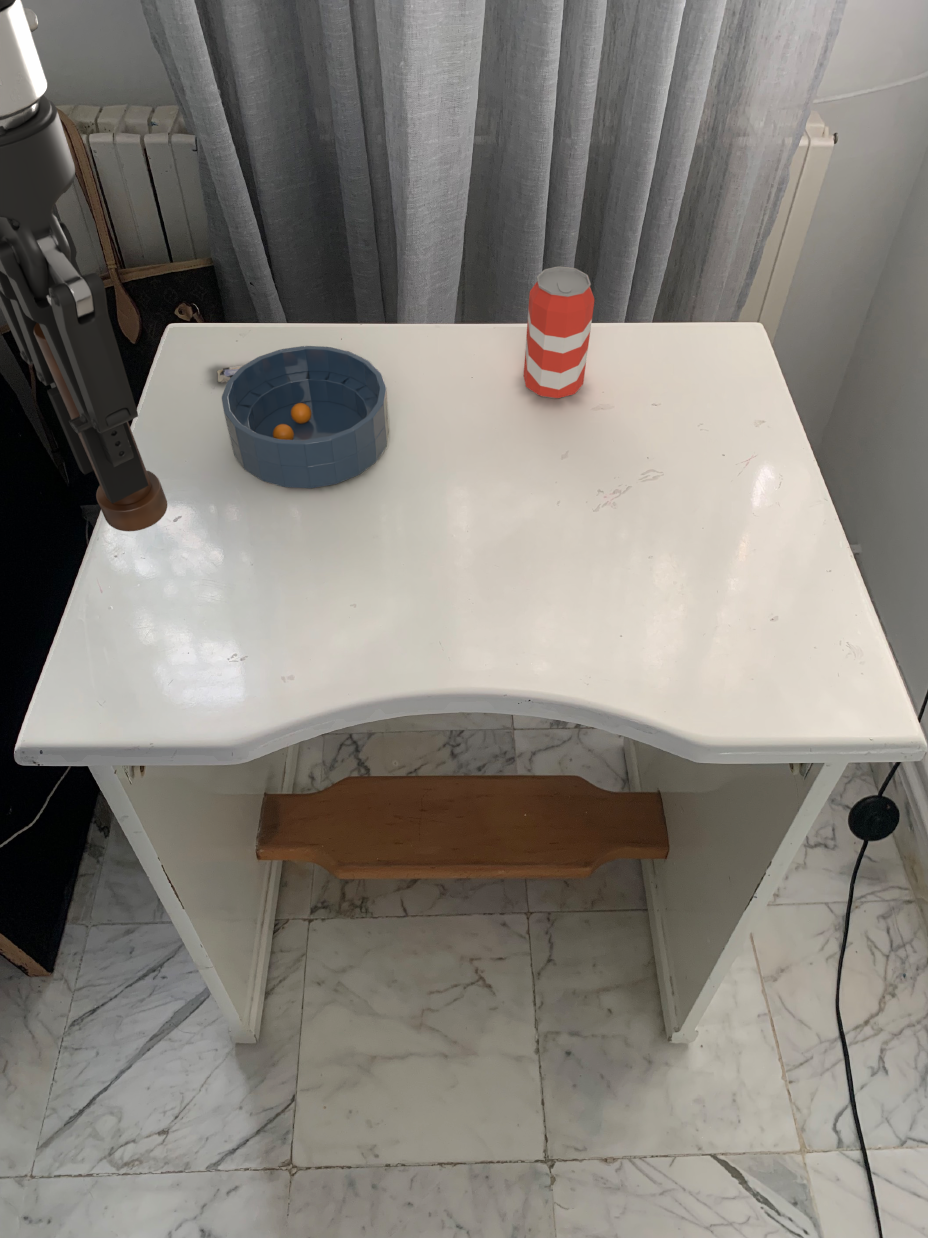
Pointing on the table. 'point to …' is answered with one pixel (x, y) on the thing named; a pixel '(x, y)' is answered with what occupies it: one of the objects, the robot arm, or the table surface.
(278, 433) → the bead
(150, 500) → the brown cylinder
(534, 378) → the beverage can
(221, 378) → the granola bar
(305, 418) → the bead
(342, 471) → the bowl
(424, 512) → the table surface
